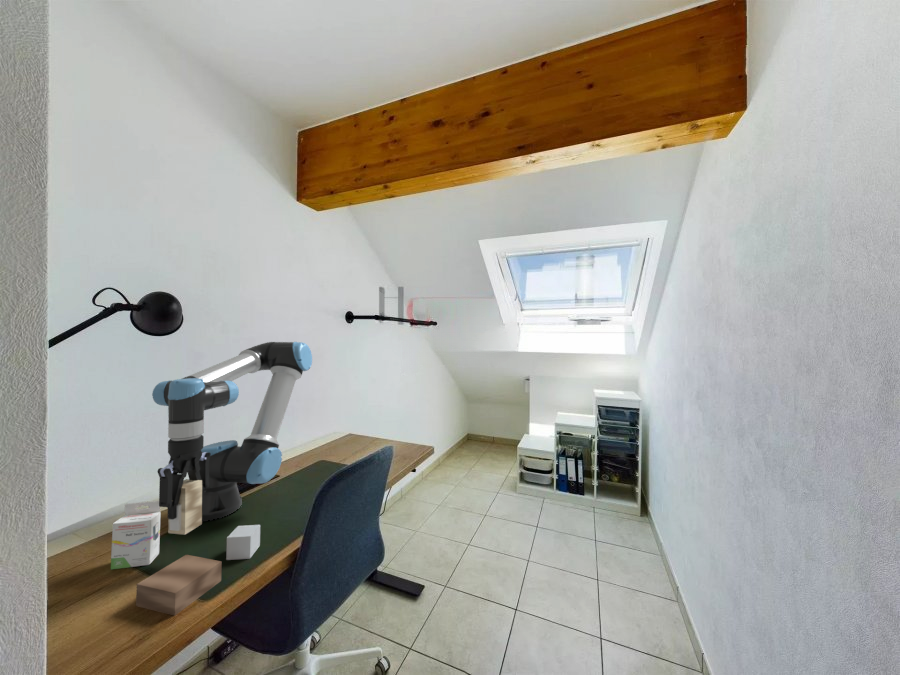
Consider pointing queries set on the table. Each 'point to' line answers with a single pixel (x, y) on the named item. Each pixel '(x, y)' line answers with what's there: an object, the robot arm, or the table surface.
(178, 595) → the walnut base block
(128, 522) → the ink box
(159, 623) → the table surface
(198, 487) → the oak column
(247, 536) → the grey plastic block
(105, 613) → the table surface
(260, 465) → the robot arm
